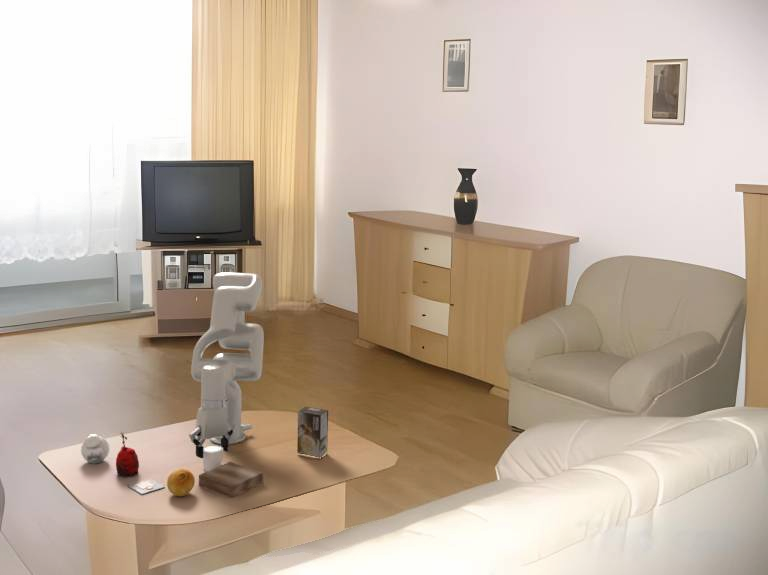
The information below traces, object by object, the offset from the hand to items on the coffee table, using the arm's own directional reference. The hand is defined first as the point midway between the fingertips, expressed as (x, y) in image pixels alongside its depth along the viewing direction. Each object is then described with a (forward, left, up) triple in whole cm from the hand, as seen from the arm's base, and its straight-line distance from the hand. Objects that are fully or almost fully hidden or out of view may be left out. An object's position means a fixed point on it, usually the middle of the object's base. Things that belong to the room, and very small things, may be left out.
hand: (212, 453), depth 288 cm
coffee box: (-34, +11, -6) cm, 36 cm away
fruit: (+18, +10, -6) cm, 22 cm away
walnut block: (+2, +13, -6) cm, 15 cm away
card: (+23, -2, -6) cm, 24 cm away
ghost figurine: (+25, -30, -6) cm, 39 cm away
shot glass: (-1, -1, -6) cm, 6 cm away
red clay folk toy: (+22, -15, -6) cm, 27 cm away
